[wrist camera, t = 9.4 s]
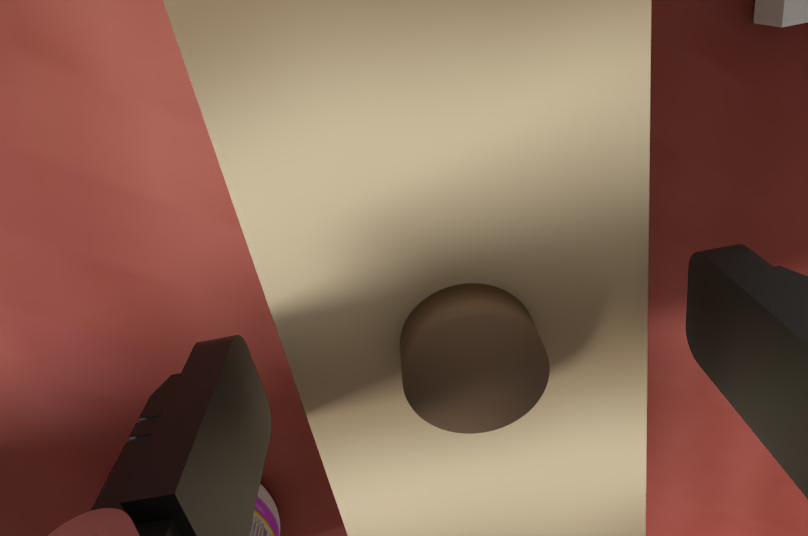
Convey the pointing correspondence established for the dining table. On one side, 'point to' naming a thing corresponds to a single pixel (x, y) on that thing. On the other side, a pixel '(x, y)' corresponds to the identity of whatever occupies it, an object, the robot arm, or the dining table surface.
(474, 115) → the lid
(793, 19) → the mat
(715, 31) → the dining table surface
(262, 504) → the supplement bottle
